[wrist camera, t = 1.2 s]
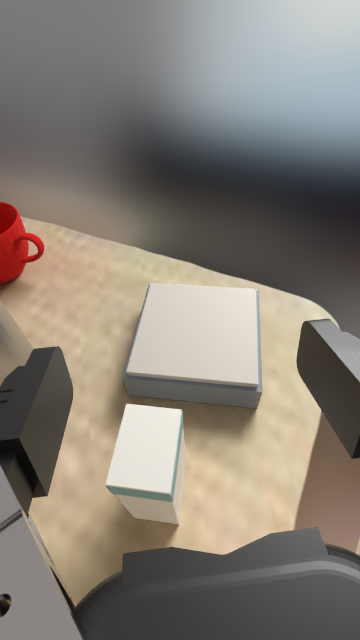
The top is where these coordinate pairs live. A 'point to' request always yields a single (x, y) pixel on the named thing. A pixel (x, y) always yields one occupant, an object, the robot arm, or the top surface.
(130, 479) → the carton
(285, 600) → the robot arm
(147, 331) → the podium
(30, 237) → the ceramic cup
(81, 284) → the top surface
